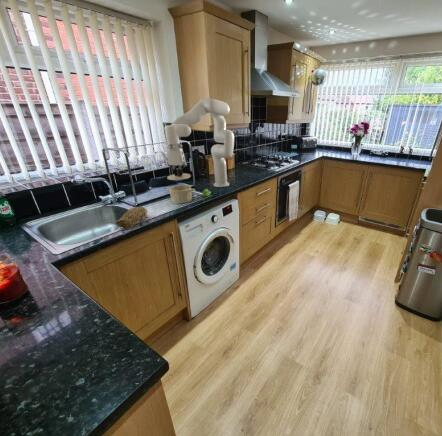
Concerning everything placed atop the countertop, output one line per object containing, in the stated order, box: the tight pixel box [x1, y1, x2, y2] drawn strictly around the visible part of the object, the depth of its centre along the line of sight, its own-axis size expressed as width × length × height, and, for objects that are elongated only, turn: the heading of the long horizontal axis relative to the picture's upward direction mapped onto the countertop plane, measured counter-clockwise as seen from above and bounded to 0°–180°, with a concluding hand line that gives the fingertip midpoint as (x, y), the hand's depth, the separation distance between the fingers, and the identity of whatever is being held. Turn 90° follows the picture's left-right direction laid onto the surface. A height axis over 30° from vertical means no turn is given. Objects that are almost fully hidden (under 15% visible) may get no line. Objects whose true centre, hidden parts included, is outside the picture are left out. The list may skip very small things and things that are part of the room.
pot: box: [165, 184, 196, 204], centre depth 163 cm, size 14×19×8 cm
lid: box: [166, 167, 192, 181], centre depth 158 cm, size 15×15×6 cm
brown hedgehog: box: [115, 206, 148, 230], centre depth 132 cm, size 13×8×20 cm
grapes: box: [201, 188, 212, 198], centre depth 171 cm, size 10×5×5 cm, turn 173°
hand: (178, 175), depth 158 cm, fingers closed on lid, 2 cm apart
